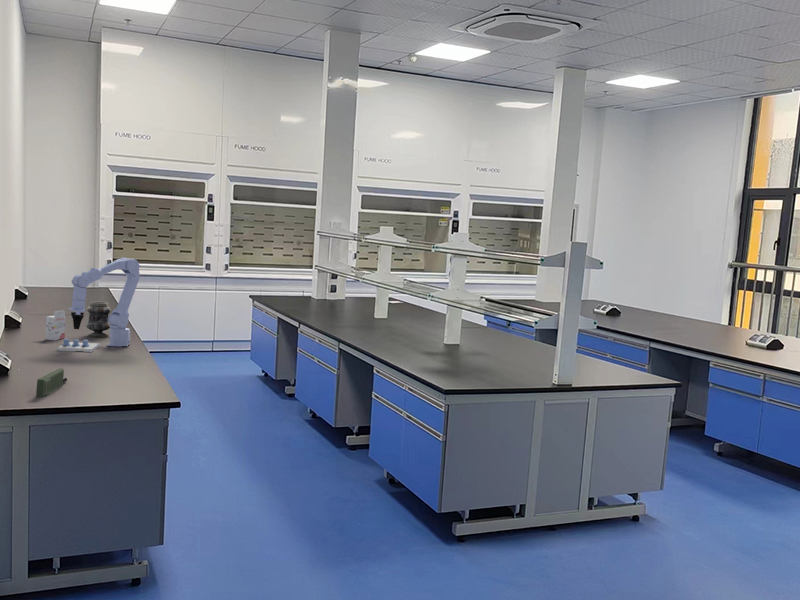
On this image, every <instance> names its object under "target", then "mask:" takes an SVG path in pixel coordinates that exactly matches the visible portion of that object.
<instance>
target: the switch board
mask: <svg viewBox="0 0 800 600" xmlns="http://www.w3.org/2000/svg"><path fill="white" fill-rule="evenodd" d="M69 344H71V345H70V346H65V345H62V344H61V345H60V346H58V347H57V351H58V352H75V351H84V352H83V353H93V352H94V351H95V350H97V349H98V348H100V347H101V346H100V344H101V343H98V342H97V343H95V342H93V343H92V342H88V345H90V346H88V347H86V346H81V345H83V342H79V344H80V346H72V344H73V341H69ZM99 346H100V347H99ZM97 347H98V348H97ZM96 348H97V349H96ZM93 350H94V351H93ZM92 351H93V352H92Z"/></svg>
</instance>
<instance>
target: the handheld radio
mask: <svg viewBox="0 0 800 600" xmlns="http://www.w3.org/2000/svg"><path fill="white" fill-rule="evenodd" d="M64 374H65V369H64V368H63V367H59V368H57V369H55V370H53V371H52V372H49V373H47V374H46V375H44V376H42V377H39V378H38V379H37V381H36V382H37V383H36V391H35V392H36V394H35V397H36V398H44V397H46V396H48V395H49V394H51V393H52V391H53V392H54V391H56V390H58V389H60V388H61V387H63V386H64V383H65V382H67V381H68V378H67V377H65V376H64ZM64 377H65V378H64ZM62 385H63V386H62ZM57 388H58V389H57ZM55 389H56V390H55ZM50 392H51V393H50ZM45 395H46V396H45Z"/></svg>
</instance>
